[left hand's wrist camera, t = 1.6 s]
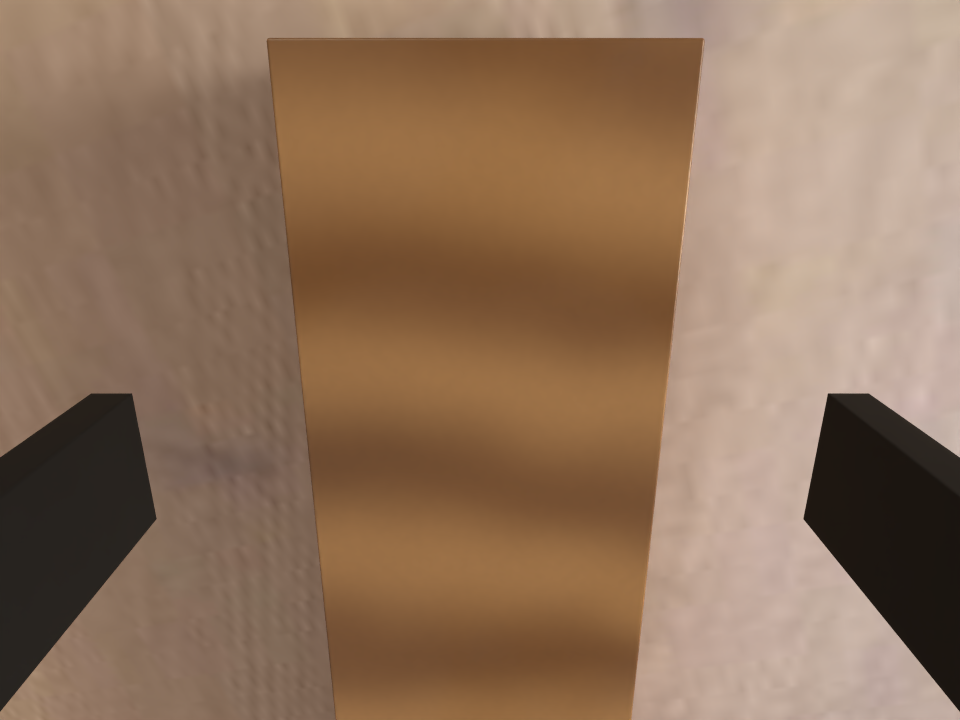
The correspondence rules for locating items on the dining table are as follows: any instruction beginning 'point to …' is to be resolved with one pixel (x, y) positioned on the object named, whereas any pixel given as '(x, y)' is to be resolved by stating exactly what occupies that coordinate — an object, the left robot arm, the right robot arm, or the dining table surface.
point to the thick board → (484, 356)
